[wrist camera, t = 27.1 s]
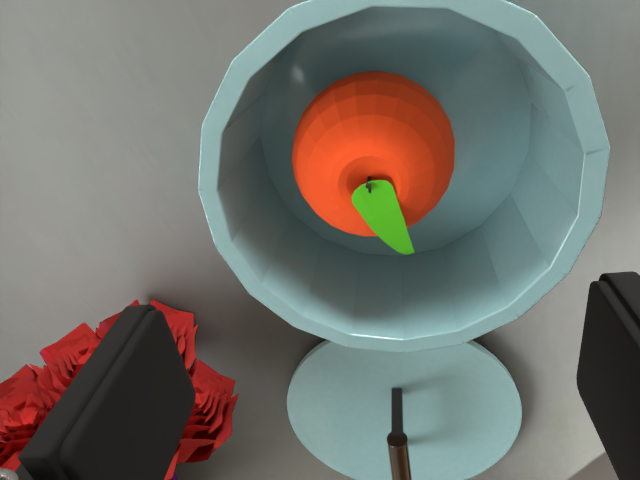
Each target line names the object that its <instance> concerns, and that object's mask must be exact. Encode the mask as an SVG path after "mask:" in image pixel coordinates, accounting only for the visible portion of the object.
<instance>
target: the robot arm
mask: <svg viewBox="0 0 640 480" xmlns="http://www.w3.org/2000/svg"><path fill="white" fill-rule="evenodd" d="M577 386H578V390H579V393H580V396H581V398H582V400H583V402H584V405H585V407H586V409H587V411H588V413H589V415H590V418H591V420H592V422H593V424H594V426H595V428H596V431H597V433H598V435H599V437H600V439H601V441H602V444H603V446H604V448H605V450H606V452H607V454H608V457H609V459H610V461H611V463H612V465H613V467H614V470H615V472H616V474H617V476H618V478H619V480H640V276H639V275H638V274H637V273H636V272H619V273H605V274H602V275H601V276H600V278H599V281H593V282H592V283H591V284H590V288H589V295H588V302H587V308H586V315H585V322H584V329H583V336H582V343H581V350H580V357H579V364H578V370H577ZM195 399H196V394H195V389H194V386H193V384H192V382H191V379H190V377H189V374H188V372H187V369H186V367H185V364H184V362H183V360H182V357H181V355H180V352H179V350H178V347H177V345H176V343H175V340H174V338H173V335H172V333H171V330H170V328H169V325H168V323H167V321H166V318H165V316H164V314H163V312H162V311H161V310H157V309H156V307H155V306H154V305H150V304H149V305H135V306H128V307H126V308H125V309H124V310H123V311H122V313H121V314H120V315H119V317H118V318H117V320H116V321H115V322H114V324H113V325H112V327H111V328H110V329H109V331H108V332H107V334H106V335H105V336H104V338H103V339H102V341H101V342H100V343H99V345H98V346H97V347H96V349H95V350H94V352H93V353H92V354H91V356H90V357H89V359H88V360H87V361H86V363H85V364H84V366H83V367H82V368H81V370H80V371H79V373H78V374H77V375H76V377H75V378H74V379H73V381H72V382H71V384H70V385H69V386H68V388H67V389H66V391H65V392H64V393H63V395H62V396H61V398H60V399H59V400H58V402H57V403H56V405H55V406H54V407H53V409H52V410H51V411H50V413H49V414H48V416H47V417H46V418H45V420H44V421H43V423H42V424H41V425H40V427H39V428H38V430H37V431H36V432H35V434H34V435H33V437H32V438H31V439H30V441H29V442H28V444H27V445H26V446H25V448H24V449H23V450H22V452H21V453H20V455H19V456H18V457H17V458H18V459H19V461H20V462H21V464H20V465H19V467H18V468H17V470H16V471H15V472H14V471H12V470H10V469H4V468H0V480H164V478H165V476H166V473H167V471H168V468H169V466H170V464H171V461H172V459H173V456H174V454H175V451H176V449H177V446H178V444H179V442H180V439H181V437H182V434H183V432H184V429H185V427H186V424H187V422H188V420H189V417H190V415H191V412H192V410H193V407H194V404H195Z"/></svg>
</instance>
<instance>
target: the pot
mask: <svg viewBox="0 0 640 480" xmlns="http://www.w3.org/2000/svg"><path fill="white" fill-rule="evenodd" d="M371 71H383V72H388V73H394V74H399V75H402V76H404V77H406V78H408V79H410V80H412V81H414V82H416V83H418V84H420V85H421V86H422V87H423V88H424V89H425V90H427V91H428V92H429V93H430V94H431V95H432V96H433V97H434V98H435V99H436V100H437V101H439V103H440V105H441V106H442V108H443V110H444V111H445V113H446V115H447V116H448V118H449V120H450V123H451V127H452V131H453V135H454V138H455V159H454V170H453V174H452V177H451V180H450V183H449V186H448V189H447V190H446V192H445V193H444V195H443V197H442V198H441V200H440V201H439V203H438V204H437V206H436V207H434V208H433V209H432V210H431V211H430V212H429V213H428V214H427V215H426V216H425V217H423V218H422V219H421V220H420V221H419V222H418V223H416V224H414V225H412V226H410V227H408V228H407V232H408V234H409V237H410V240H411V243H412V247H413V249H414V253H412V254H409V255H406V254H402V253H399V252H397V251H396V250H394V249H393V248H391V247H390V246H389V245H388V244H386V243H385V242H384V241H383V240H382V239H381V238H380V237H379V236H361V235H356V234H351V233H347V232H344V231H342V230H340V229H338V228H336V227H333V226H331V225H330V224H329V223H327V222H326V221H325V220H323V219H322V218H321V217H320V216H318V215H317V214H316V213H315V211H314V210H313V209H312V207H311V206H310V205H309V204H308V202H307V201H306V200H305V198H304V197H303V196H302V194H301V192H300V189H299V187H298V185H297V182H296V180H295V178H294V172H293V165H292V151H293V143H294V136H295V130H296V128H297V125H298V123H299V121H300V118H301V116H302V114H303V111H304V110H305V109H306V108H307V106H308V105H309V104H310V103H311V101H312V100H313V99H314V98H315V96H316V95H317V94H319V93H320V92H321V91H323V90H324V89H326V88H327V87H328V86H330V85H331V84H332V83H334V82H335V81H337V80H340V79H342V78H345V77H348V76H350V75H353V74H356V73H360V72H371ZM609 154H610V144H609V140H608V137H607V133H606V130H605V127H604V123H603V120H602V116H601V113H600V109H599V106H598V103H597V99H596V96H595V92H594V89H593V85H592V82H591V78H590V76H589V75H588V73H587V72H586V71H585V70H584V68H583V67H582V66H581V65H580V64H579V63H578V62H577V60H576V59H575V58H574V57H573V56H572V55H571V54H570V52H569V51H568V50H567V49H566V48H565V47H564V46H563V44H562V43H561V42H560V41H559V40H558V39H557V38H556V36H555V35H554V34H553V33H552V32H551V31H550V30H549V29H548V27H547V26H546V25H545V24H544V23H543V22H542V21H541V19H540V18H539V17H538V16H536V15H535V14H534V13H532V12H530V11H528V10H526V9H524V8H521V7H519V6H517V5H515V4H512V3H510V2H508V1H506V0H306V1H304V2H301V3H299V4H296V5H294V6H291V7H290V8H288V9H287V10H286V11H285V12H284V13H282V14H281V15H280V16H279V17H278V18H277V19H276V20H275V21H274V22H273V23H272V24H271V25H270V26H268V27H267V28H266V29H265V30H264V31H263V32H262V33H261V34H260V35H259V36H258V37H257V38H256V39H255V40H253V41H252V42H251V43H250V44H249V45H248V46H247V47H246V48H245V49H244V50H243V51H242V52H241V53H240V54H238V55H237V56H236V57H235V58H234V59H233V60H232V62H231V63H230V65H229V68H228V70H227V72H226V74H225V76H224V78H223V80H222V82H221V85H220V87H219V89H218V91H217V93H216V95H215V97H214V100H213V102H212V104H211V106H210V108H209V110H208V112H207V114H206V117H205V119H204V121H203V123H202V127H201V143H200V159H199V174H198V192H199V195H200V198H201V202H202V205H203V208H204V211H205V215H206V218H207V221H208V225H209V228H210V231H211V235H212V238H213V241H214V244H215V246H216V249H217V250H218V251H219V253H220V254H221V256H222V257H223V258H224V260H225V261H226V262H227V264H228V265H229V267H230V268H231V269H232V271H233V272H234V274H235V275H236V276H237V278H238V279H239V280H240V282H241V283H242V285H243V286H244V287H245V289H246V290H247V292H249V294H250V295H251V296H253V297H254V298H255V299H257V300H258V301H259V302H261V303H262V304H263V305H265V306H266V307H267V308H269V309H270V310H271V311H273V312H274V313H275V314H277V315H278V316H279V317H281V318H282V319H284V320H285V321H286V322H288V323H289V324H290V325H292V326H293V327H294V326H295V328H298V329H300V330H303V331H305V332H308V333H311V334H313V335H316V336H319V337H321V338H324V339H326V340H329V341H332V342H334V343H337V344H340V345H342V346H345V347H347V346H348V347H349V348H359V349H369V350H379V351H389V352H399V353H404V352H405V353H410V352H416V351H422V350H428V349H435V348H441V347H447V346H453V345H459V344H463V343H466V342H468V341H471V340H473V339H475V338H477V337H479V336H481V335H484V334H486V333H488V332H490V331H492V330H494V329H497V328H499V327H501V326H503V325H505V324H507V323H510V322H512V321H514V320H516V319H518V318H519V317H521V316H522V315H523V314H524V313H526V312H527V311H528V310H529V309H530V308H531V307H532V306H533V305H535V304H536V303H537V302H538V301H539V300H540V299H541V298H542V297H544V296H545V295H546V294H547V293H548V292H549V291H550V290H551V289H553V288H554V287H555V286H556V285H557V284H558V283H559V282H560V281H562V280H563V279H564V278H565V277H566V275H567V274H569V272H570V271H571V269H572V267H573V265H574V263H575V262H576V260H577V258H578V256H579V255H580V253H581V251H582V249H583V248H584V246H585V244H586V242H587V240H588V239H589V237H590V235H591V233H592V232H593V230H594V228H595V226H596V224H597V223H598V221H599V219H600V217H601V213H602V206H603V198H604V191H605V184H606V176H607V169H608V162H609Z"/></svg>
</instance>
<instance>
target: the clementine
mask: <svg viewBox="0 0 640 480" xmlns="http://www.w3.org/2000/svg"><path fill="white" fill-rule="evenodd" d="M454 159H455V138H454V135H453V131H452V127H451V123H450V120H449V118H448V116H447V115H446V113H445V111H444V110H443V108H442V106H441V105H440V103H439V101H437V100H436V99H435V98H434V97H433V96H432V95H431V94H430V93H429V92H428V91H427V90H425V89H424V88H423V87H422V86H421V85H420V84H418V83H416V82H414V81H412V80H410V79H408V78H406V77H404V76H402V75H399V74H394V73H388V72H383V71H371V72H360V73H356V74H353V75H350V76H348V77H345V78H342V79H340V80H337V81H335V82H334V83H332V84H331V85H330V86H328V87H327V88H326V89H324V90H323V91H321V92H320V93H319V94H317V95H316V96H315V98H314V99H313V100H312V101H311V103H310V104H309V105H308V106H307V108H306V109H305V110H304V111H303V114H302V116H301V118H300V121H299V123H298V125H297V128H296V130H295V136H294V143H293V151H292V165H293V172H294V178H295V180H296V182H297V185H298V187H299V189H300V192H301V194H302V196H303V197H304V198H305V200H306V201H307V202H308V204H309V205H310V206H311V207H312V209H313V210H314V211H315V213H316V214H317V215H318V216H320V217H321V218H322V219H323V220H325V221H326V222H327V223H329V224H330V225H331V226H333V227H336V228H338V229H340V230H342V231H344V232H347V233H351V234H356V235H361V236H379V237H380V238H381V239H382V240H383V241H384V242H385V243H386V244H388V245H389V246H390V247H391V248H393V249H394V250H396V251H397V252H399V253H402V254H406V255H409V254H412V253H414V249H413V247H412V243H411V240H410V237H409V234H408V232H407V228H408V227H410V226H412V225H414V224H416V223H418V222H419V221H420V220H421V219H422V218H423V217H425V216H426V215H427V214H428V213H429V212H430V211H431V210H432V209H433V208H434V207H436V206H437V204H438V203H439V201H440V200H441V198H442V197H443V195H444V193H445V192H446V190H447V189H448V186H449V183H450V180H451V177H452V174H453V170H454Z"/></svg>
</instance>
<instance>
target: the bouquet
mask: <svg viewBox="0 0 640 480" xmlns="http://www.w3.org/2000/svg"><path fill="white" fill-rule="evenodd" d="M135 305H139V302H138V300H135V301H134V302H133V303H132V304H131V305H129V306H135ZM141 305H142V304H141ZM150 305H154V306H155V307H156V309H157V310H161V311H162V312H163V314H164V316H165V318H166V321H167V323H168V325H169V328H170V330H171V333H172V335H173V338H174V340H175V343H176V345H177V347H178V350H179V352H180V355H181V357H182V360H183V362H184V364H185V367H186V369H188V368H189V366H190V365H191V364H192V362H193V361H194V360H195V361H194V363H193V365H192V366H191V368H190V370H187V372H188V374H189V377H190V379H191V382H192V384H193V386H194V389H195V394H196V399H195V404H194V407H193V410H192V412H191V415H190V417H189V420H188V422H187V424H186V427H185V429H184V432H183V434H182V437H181V439H180V442H179V444H178V446H177V449H176V451H175V454H174V456H173V459H172V461H171V464H170V466H169V468H168V471H167V473H166V476H165V478H164V480H178V479H177V477H176V474H175V472H174V470H175V466H176V464H178V463H183V462H198V461H203V460H207V459H208V458H209V456H210V455H211V453H212V452H213V451H214V450H216V449H217V448H218V447H219V446H220V445H221V444H222V443H223V442H224V441H225V440H226V439H227V438H228V437H230V436H231V433H232V412H233V409H234V406H235V403H236V400H237V397H238V394H237V395H235V396H233V397H232V398H231V396H232V392H233V388H234V384H235V380H232V379H230V378H227V377H225V376H222V375H220V374H218V373H217V372H216V371H214V370H213V369H211V368H210V367H209V366H207V365H206V364H204V363H203V362H202V361H200V360H198V359H195V339H194V336H195V333H196V329H197V326H198V324H197V325H196V326H195V327H194V328H193V321H194V313H189V312H184V311H178V310H175V309H173V308H171V307H168V306H166V305H164V304H161V303H159V302H157V301H154V300H151V303H150ZM121 313H122V312H120V313H118V314H116V315H113V316H111V317H109V318H107V319H105V320H103V321H102V322H100V324H99V329H98V328H96V333H95V332H94V331H93V330H92V329H91V328H90V327H89V326H88V325H87V324H86V323H83V324H81V325H80V326H78V327H77V328H76V329H74V330H73V331H72V332H70V333H69V334H67V335H66V336H65V337H63V338H62V339H61V340H59V341H58V342H56V343H54V344H52V345H50V346H48V347H46V348H44V349H42V350H41V351H40V352H39V353H40V355H41V356H42V358H43V360H44V361H45V363H46V365H47V366H48V367H47V366H46V365H44V368H43V369H42V368H39V367H37V366H34V365H31V364H30V366H31V367H32V368H33V369H34V370H33V369H32V368H30V367H29V366H28V365H27V364H26V365H25V366H24V367H22V368H21V369H20V370H19V371H18V372H17V373H16V374H14V375H13V376H12V377H11V378H9V379H8V380H6V381H4V382H2V383H1V384H0V468H4V469H10V470H12V471H14V472H15V471H16V470H17V468H18V467H19V465H20V464H21V462H20V461H19V459H18V458H17V457H18V456H19V455H20V453H21V452H22V450H23V449H24V448H25V446H26V445H27V444H28V442H29V441H30V439H31V438H32V437H33V435H34V434H35V432H36V431H37V430H38V428H39V427H40V425H41V424H42V423H43V421H44V420H45V418H46V417H47V416H48V414H49V413H50V411H51V410H52V409H53V407H54V406H55V405H56V403H57V402H58V400H59V399H60V398H61V396H62V395H63V393H64V392H65V391H66V389H67V388H68V386H69V385H70V384H71V382H72V381H73V379H74V378H75V377H76V375H77V374H78V373H79V371H80V370H81V368H82V367H83V366H84V364H85V363H86V361H87V360H88V359H89V357H90V356H91V354H92V353H93V352H94V350H95V349H96V347H97V346H98V345H99V343H100V342H101V341H102V339H103V338H104V336H105V335H106V334H107V332H108V331H109V329H110V328H111V327H112V325H113V324H114V322H115V321H116V320H117V318H118V317H119V315H120V314H121Z"/></svg>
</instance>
